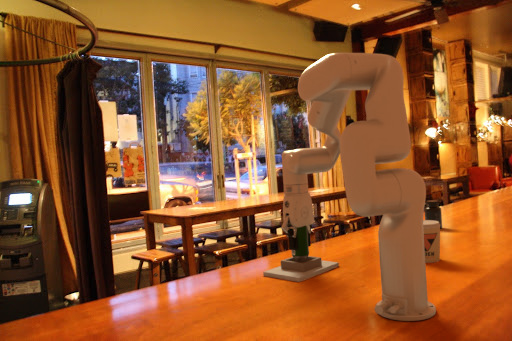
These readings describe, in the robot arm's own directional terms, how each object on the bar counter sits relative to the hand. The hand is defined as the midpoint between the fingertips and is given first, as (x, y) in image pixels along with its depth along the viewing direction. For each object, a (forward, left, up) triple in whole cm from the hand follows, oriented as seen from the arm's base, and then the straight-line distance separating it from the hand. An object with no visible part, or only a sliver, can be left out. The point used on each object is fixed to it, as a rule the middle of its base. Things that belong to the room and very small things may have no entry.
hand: (300, 247), depth 141 cm
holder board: (0, 0, -7) cm, 7 cm away
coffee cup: (+29, -27, -8) cm, 41 cm away
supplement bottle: (+83, -7, -8) cm, 84 cm away
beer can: (0, 0, -3) cm, 3 cm away
